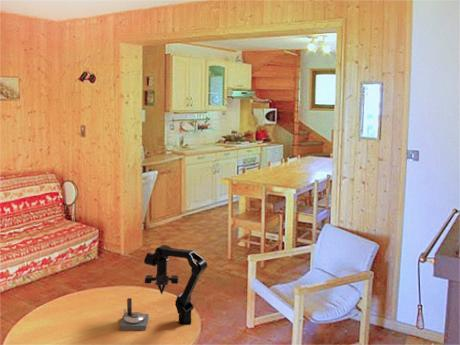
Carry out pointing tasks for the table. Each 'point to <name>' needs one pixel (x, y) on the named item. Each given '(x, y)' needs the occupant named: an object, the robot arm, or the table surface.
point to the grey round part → (132, 314)
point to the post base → (129, 326)
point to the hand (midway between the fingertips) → (161, 293)
